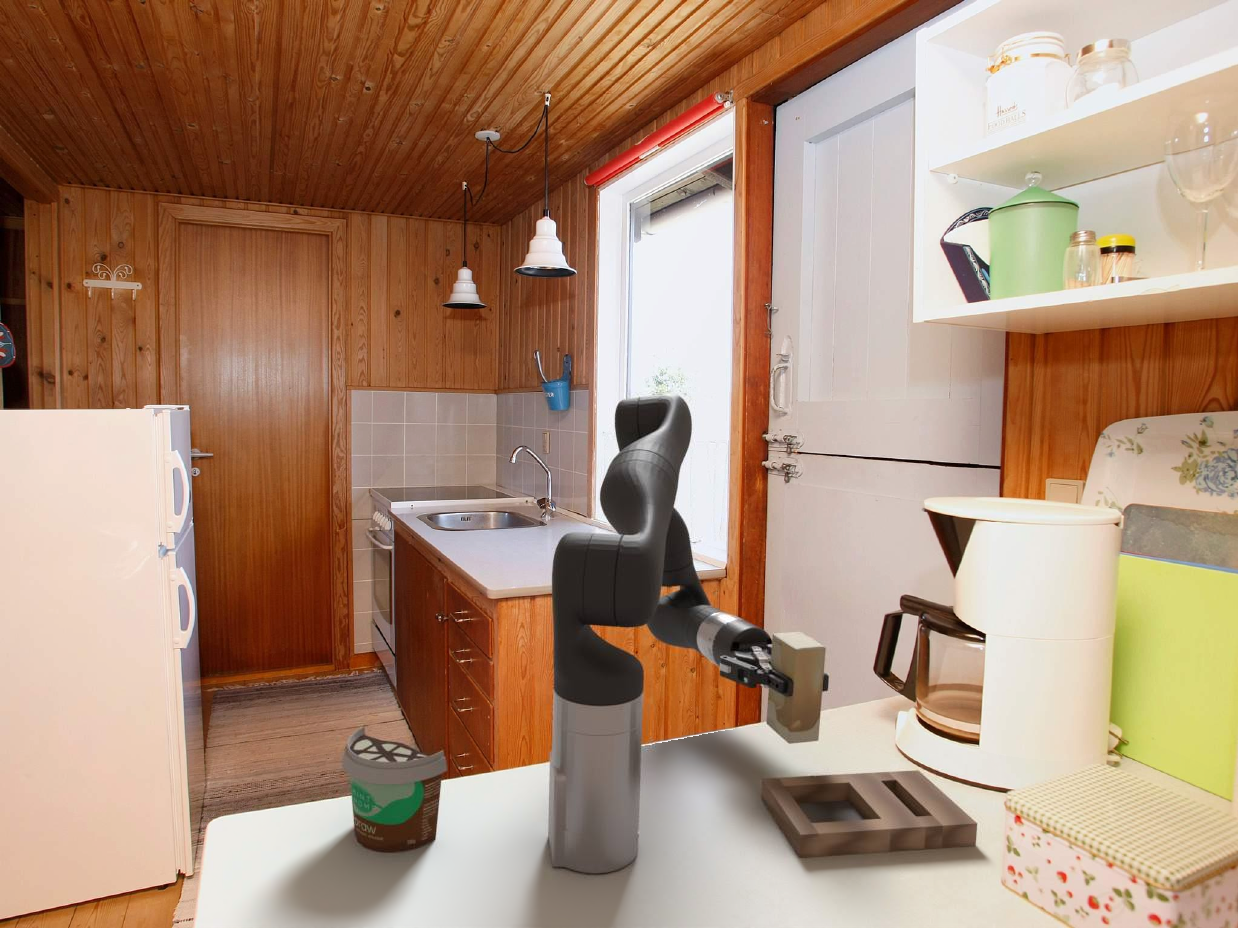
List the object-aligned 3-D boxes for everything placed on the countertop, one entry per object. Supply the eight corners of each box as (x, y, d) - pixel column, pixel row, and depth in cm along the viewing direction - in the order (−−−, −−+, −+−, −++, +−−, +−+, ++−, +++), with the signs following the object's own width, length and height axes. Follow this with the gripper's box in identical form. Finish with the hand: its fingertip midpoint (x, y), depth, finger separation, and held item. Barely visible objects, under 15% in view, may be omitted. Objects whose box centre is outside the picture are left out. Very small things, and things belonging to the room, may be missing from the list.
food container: (316, 837, 84) (315, 746, 83) (360, 810, 89) (360, 724, 88) (405, 873, 78) (405, 775, 77) (446, 842, 84) (447, 751, 83)
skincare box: (764, 724, 103) (769, 631, 102) (794, 721, 104) (799, 630, 103) (789, 745, 97) (795, 647, 96) (821, 742, 98) (827, 645, 97)
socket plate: (799, 857, 83) (800, 834, 82) (760, 798, 94) (762, 778, 94) (975, 845, 86) (977, 823, 86) (917, 789, 98) (918, 770, 97)
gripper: (690, 622, 110) (761, 662, 94) (777, 614, 116) (857, 650, 100) (688, 675, 110) (758, 723, 95) (774, 664, 116) (853, 708, 101)
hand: (808, 686), depth 98 cm, fingers closed on skincare box, 4 cm apart
